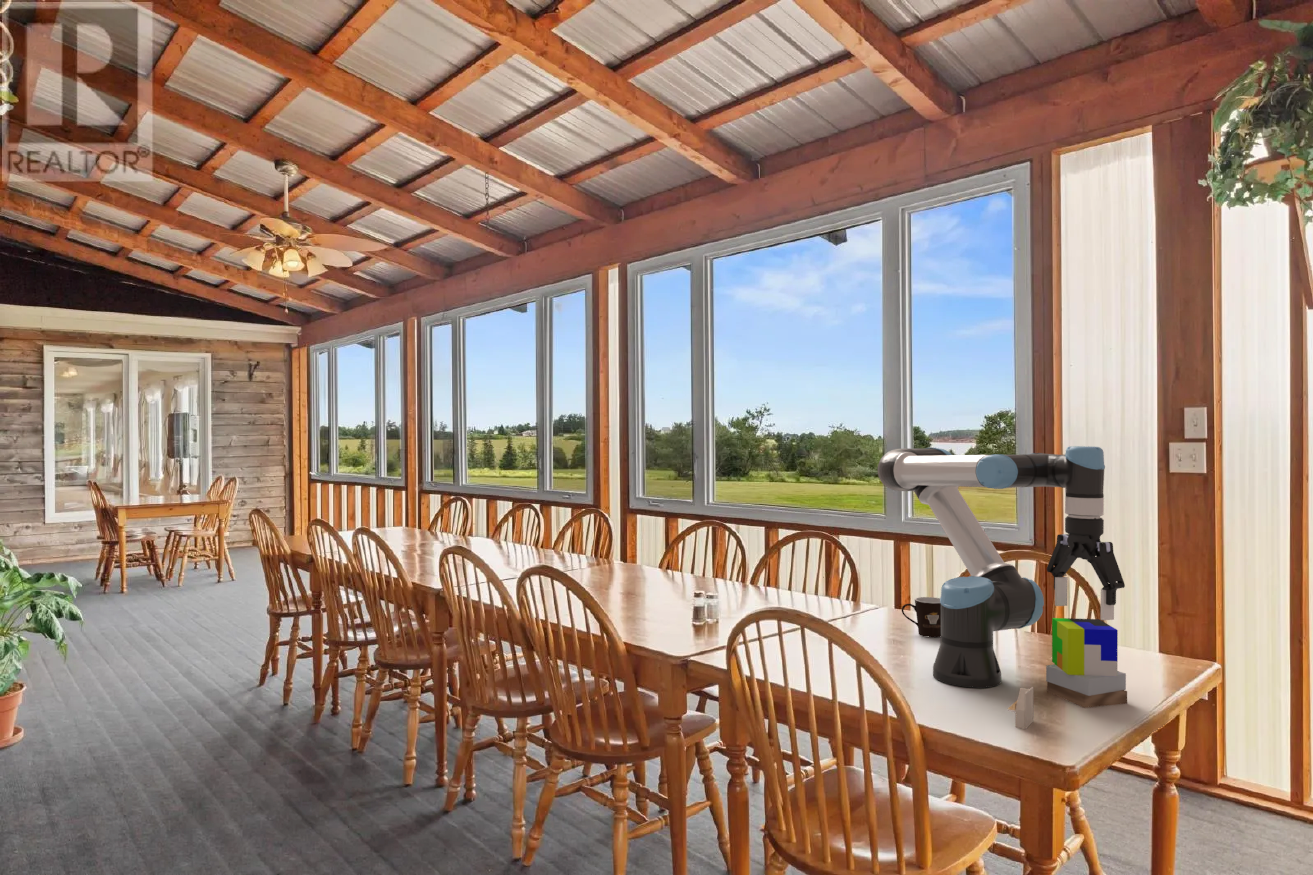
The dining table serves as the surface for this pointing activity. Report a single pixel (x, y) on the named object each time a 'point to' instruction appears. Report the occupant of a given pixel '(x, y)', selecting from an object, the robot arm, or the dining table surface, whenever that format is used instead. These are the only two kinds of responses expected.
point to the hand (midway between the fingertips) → (1083, 612)
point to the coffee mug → (927, 616)
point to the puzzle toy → (1084, 647)
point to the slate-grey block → (1086, 681)
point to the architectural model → (1023, 708)
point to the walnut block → (1086, 700)
